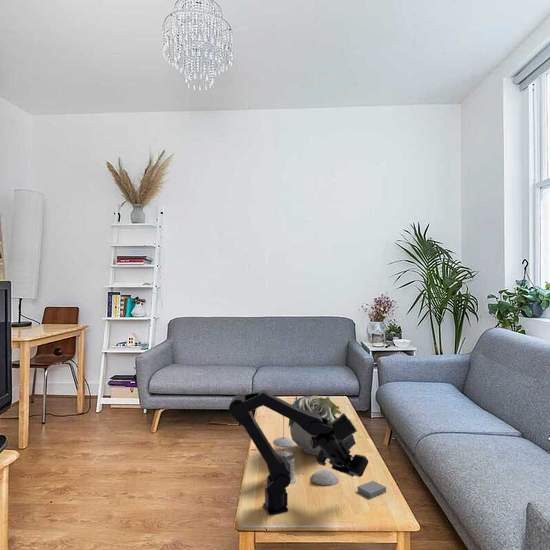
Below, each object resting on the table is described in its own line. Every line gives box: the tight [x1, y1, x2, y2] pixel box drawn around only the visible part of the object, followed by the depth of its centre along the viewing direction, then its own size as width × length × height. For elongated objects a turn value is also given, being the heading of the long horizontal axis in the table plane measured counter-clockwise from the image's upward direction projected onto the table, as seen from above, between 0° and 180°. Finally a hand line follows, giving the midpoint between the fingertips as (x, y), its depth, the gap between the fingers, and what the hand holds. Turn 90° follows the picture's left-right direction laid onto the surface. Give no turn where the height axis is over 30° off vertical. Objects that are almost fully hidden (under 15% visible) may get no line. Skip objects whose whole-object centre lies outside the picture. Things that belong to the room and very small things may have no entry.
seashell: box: [310, 468, 340, 486], centre depth 156 cm, size 10×6×10 cm
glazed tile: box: [357, 480, 387, 499], centre depth 148 cm, size 2×6×8 cm
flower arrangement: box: [288, 394, 342, 456], centre depth 183 cm, size 25×25×24 cm
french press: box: [272, 415, 297, 485], centre depth 156 cm, size 10×12×25 cm
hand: (353, 475), depth 143 cm, fingers closed
